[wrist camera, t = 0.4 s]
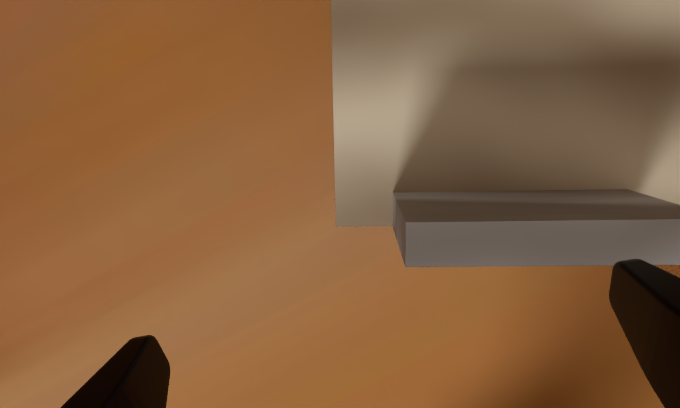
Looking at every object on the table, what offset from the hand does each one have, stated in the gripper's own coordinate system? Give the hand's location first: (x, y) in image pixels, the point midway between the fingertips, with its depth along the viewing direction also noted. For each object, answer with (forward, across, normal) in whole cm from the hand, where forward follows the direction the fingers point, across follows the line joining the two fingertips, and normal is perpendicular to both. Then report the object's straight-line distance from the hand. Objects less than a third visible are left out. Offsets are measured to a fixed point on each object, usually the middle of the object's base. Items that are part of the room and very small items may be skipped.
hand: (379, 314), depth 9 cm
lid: (+10, -6, -2) cm, 12 cm away
